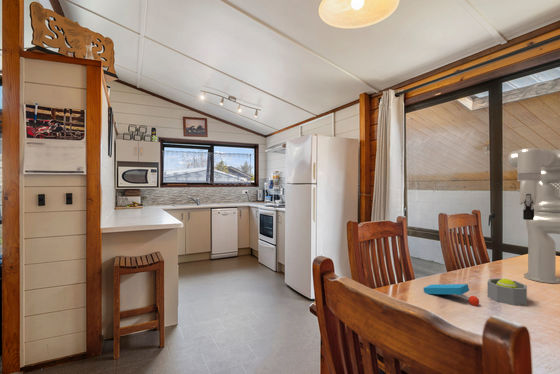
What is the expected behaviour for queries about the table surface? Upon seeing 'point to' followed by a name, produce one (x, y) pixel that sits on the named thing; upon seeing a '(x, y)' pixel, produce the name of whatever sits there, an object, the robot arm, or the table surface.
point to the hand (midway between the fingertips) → (528, 218)
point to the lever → (451, 291)
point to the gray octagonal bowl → (507, 293)
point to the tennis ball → (506, 283)
